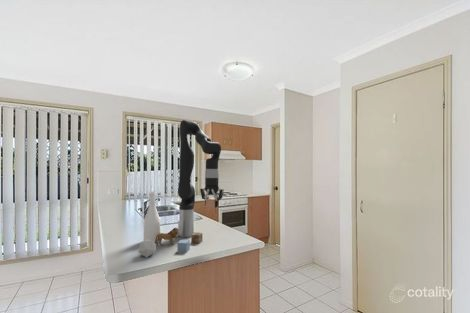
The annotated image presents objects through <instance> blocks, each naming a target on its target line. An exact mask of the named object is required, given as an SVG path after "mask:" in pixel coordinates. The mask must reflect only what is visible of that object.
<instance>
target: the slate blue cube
mask: <svg viewBox="0 0 470 313" xmlns="http://www.w3.org/2000/svg"><path fill="white" fill-rule="evenodd" d="M189 250H190V239H179V241H178V242H177V253H185V252H186V253H188V252H189Z"/></svg>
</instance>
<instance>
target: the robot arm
mask: <svg viewBox="0 0 470 313" xmlns="http://www.w3.org/2000/svg"><path fill="white" fill-rule="evenodd" d="M179 123H180V125H179V140H180V143H179V144H180V149H179V151H180V152H179V181H178V188H177V194H178V197H179V198H180V199H181V202H180V203H179V220H178V221H177V228H178V229H179V230H178V231H179V234H178V236H177V237H180V238H189V237H191V235H192V234H193V233H195V232H194V230H195V228H194V226H195V225H194V223H195V210H194V208H195V204H196V203H195V200H196V191H195V187H194V186H193V184H191V178H192V173H193V170H194V167H195V166H194V165H195V153H194V151H193V149H192V147H191V145H190V144H189V141H188V140H189V139H188V136H195V137H194V138H195V141H196V143H197V144H198V145H199V146H200V148H201V149H202V152H203V153H205V154H206V155H212V156H211V157H210V158H206V160H205V173H204V180H205V181H204V182H205V183H204V185H205V186H204V187H203V188H200V189H199V192H200V196H201V199H202V200H204V205H205V207H206V199H209V198H210V197H211V196H213V198H215V209H217V208H218V207H219V202H220V200H222V199H223V196H224V195H223V194H224V188H220V187H219V176H220V174H219V160H220V155H221V152H222V146H221V144H220V142H217V141H212V140H211V137H209V136H208V135H207V134H205V133H204V131H203V130H202V129H201V127H200V126H199V124H198V122H196V121H192V120H187V119H183V120H181V121H180V122H179ZM205 192H206V193H205ZM218 193H219V194H218Z"/></svg>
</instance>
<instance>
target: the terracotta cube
mask: <svg viewBox="0 0 470 313" xmlns="http://www.w3.org/2000/svg"><path fill="white" fill-rule="evenodd" d="M205 209H210V210H211V209H212V210H215V209H216V208H215V198H214V197H212V198H210V197H209V199H206V206H205Z"/></svg>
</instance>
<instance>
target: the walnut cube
mask: <svg viewBox="0 0 470 313" xmlns="http://www.w3.org/2000/svg"><path fill="white" fill-rule="evenodd" d="M190 237H191V238H190V239H191V244H197V245H199V244H201V243H202V242H203V232H194V233H193V234H192V235H191V236H190Z"/></svg>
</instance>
